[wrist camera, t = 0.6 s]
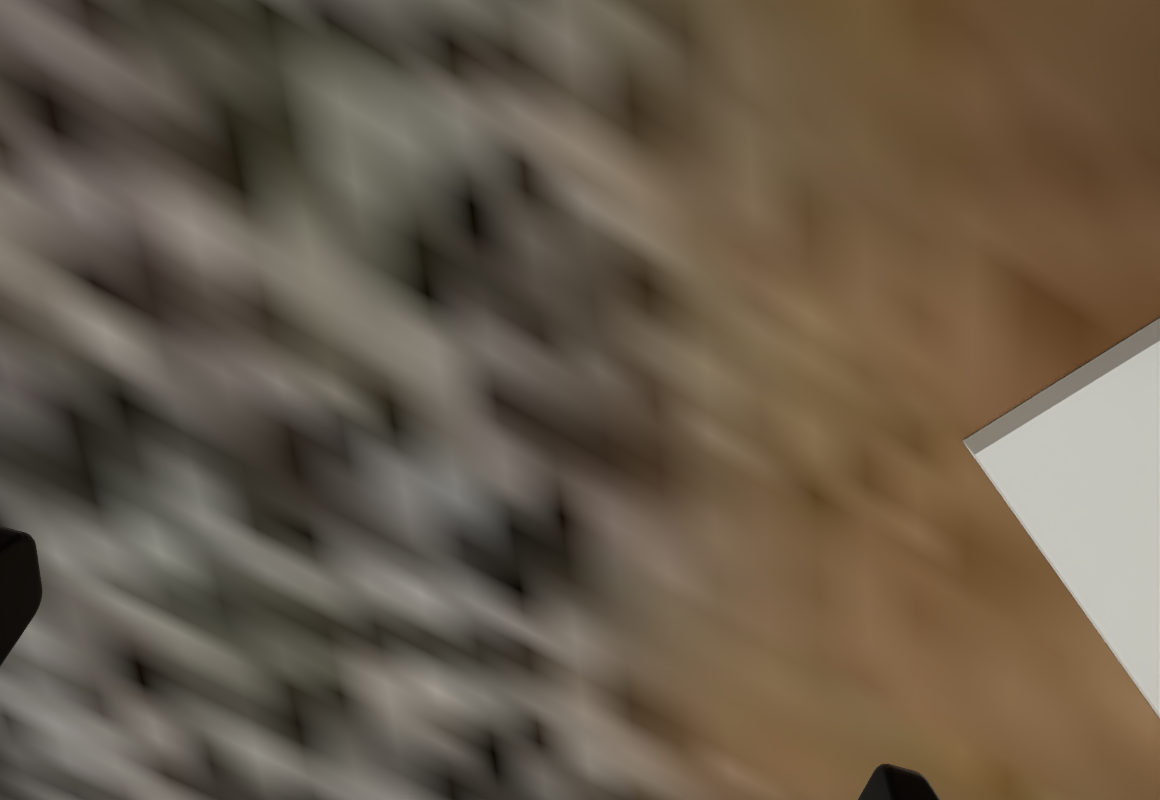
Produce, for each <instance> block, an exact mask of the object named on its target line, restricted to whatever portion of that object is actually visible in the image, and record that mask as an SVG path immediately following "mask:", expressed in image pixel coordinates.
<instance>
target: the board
mask: <svg viewBox="0 0 1160 800" xmlns="http://www.w3.org/2000/svg"><path fill="white" fill-rule="evenodd" d="M963 442H964V444H965V445H966V447H967V448H968V449H969V451H970V452H971V454H972V455H973V457H974V458H975V459H976V461H977V462H978V464H979V465H980V466H981V468H982V469H983V471H984V472H985V473H986V475H987V476H988V478H989V479H990V480H991V482H992V483H993V485H994V486H995V487H996V489H997V490H998V492H999V493H1000V494H1001V496H1002V497H1003V499H1004V500H1005V502H1006V503H1007V504H1008V506H1009V507H1010V509H1011V510H1012V511H1013V513H1014V514H1015V516H1016V517H1017V518H1018V520H1019V521H1020V523H1021V524H1022V525H1023V527H1024V528H1025V530H1026V531H1027V532H1028V534H1029V535H1030V537H1031V538H1032V539H1033V541H1034V542H1035V544H1036V545H1037V546H1038V548H1039V549H1040V551H1041V552H1042V554H1043V555H1044V556H1045V558H1046V559H1047V561H1048V562H1049V563H1050V565H1051V566H1052V568H1053V569H1054V570H1055V572H1056V573H1057V575H1058V576H1059V577H1060V579H1061V580H1062V582H1063V583H1064V584H1065V586H1066V587H1067V589H1068V590H1069V591H1070V593H1071V594H1072V596H1073V597H1074V598H1075V600H1076V601H1077V603H1078V604H1079V606H1080V607H1081V608H1082V610H1083V611H1084V613H1085V614H1086V615H1087V617H1088V618H1089V620H1090V621H1091V622H1092V624H1093V625H1094V627H1095V628H1096V629H1097V631H1098V632H1099V634H1100V635H1101V636H1102V638H1103V639H1104V641H1105V642H1106V643H1107V645H1108V646H1109V648H1110V649H1111V651H1112V652H1113V653H1114V655H1115V656H1116V658H1117V659H1118V660H1119V662H1120V663H1121V665H1122V666H1123V667H1124V669H1125V670H1126V672H1127V673H1128V674H1129V676H1130V677H1131V679H1132V680H1133V681H1134V683H1135V684H1136V686H1137V687H1138V688H1139V690H1140V691H1141V693H1142V694H1143V695H1144V697H1145V698H1146V700H1147V701H1148V703H1149V704H1150V705H1151V707H1152V708H1153V710H1154V711H1155V712H1156V714H1157V715H1158V717H1159V718H1160V318H1159V319H1157V320H1156V321H1154V322H1152V323H1151V324H1149V325H1148V326H1146V327H1144V328H1143V329H1141V330H1140V331H1138V332H1136V333H1135V334H1133V335H1132V336H1130V337H1128V338H1127V339H1125V340H1124V341H1122V342H1120V343H1119V344H1117V345H1116V346H1114V347H1112V348H1111V349H1109V350H1108V351H1106V352H1104V353H1103V354H1101V355H1099V356H1098V357H1096V358H1095V359H1093V360H1091V361H1090V362H1088V363H1087V364H1085V365H1083V366H1082V367H1080V368H1079V369H1077V370H1075V371H1074V372H1072V373H1071V374H1069V375H1067V376H1066V377H1064V378H1063V379H1061V380H1059V381H1058V382H1056V383H1055V384H1053V385H1051V386H1050V387H1048V388H1047V389H1045V390H1043V391H1042V392H1040V393H1039V394H1037V395H1035V396H1034V397H1032V398H1031V399H1029V400H1027V401H1026V402H1024V403H1023V404H1021V405H1019V406H1018V407H1016V408H1015V409H1013V410H1011V411H1010V412H1008V413H1006V414H1005V415H1003V416H1002V417H1000V418H998V419H997V420H995V421H994V422H992V423H990V424H989V425H987V426H986V427H984V428H982V429H981V430H979V431H978V432H976V433H974V434H973V435H971V436H970V437H968V438H966V439H965V440H963Z"/></svg>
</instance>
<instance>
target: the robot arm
mask: <svg viewBox="0 0 1160 800" xmlns="http://www.w3.org/2000/svg"><path fill="white" fill-rule="evenodd" d="M41 598H42V583H41V577H40V570H39V563H38V556H37V549H36V544H35V541H34V540H33V538H32V537H31V536H30V535H29V534H27V533H24V532H21V531H17V530H13V529H10V528H6V527H2V526H0V666H1V665H2V663H3V662H4V660H5V659H6V657H7V656H8V654H9V653H10V651H11V650H12V648H13V647H14V645H15V644H16V642H17V641H18V639H19V638H20V636H21V635H22V633H23V632H24V630H25V629H26V627H27V626H28V624H29V623H30V621H31V620H32V618H33V617H34V615H35V614H36V612H37V610H38V607H39V605H40V602H41ZM858 800H940V798H939V797H938V795H937V794H936V792H935V791H934V789H933V788H932V786H931V785H930V783H929V782H928V781H927V779H926V778H925V777H924V776H923V775H922V774H920V773H918V772H916V771H913V770H909V769H905V768H902V767H898V766H894V765H890V764H882V765H880V766H878V767H877V768H876V770H875V771H874V772H873V774H872V776H871V778H870V779H869V781H868V783H867V785H866V786H865V788H864V790H863V792H862V794H861V795H860V797H859V799H858Z"/></svg>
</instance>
